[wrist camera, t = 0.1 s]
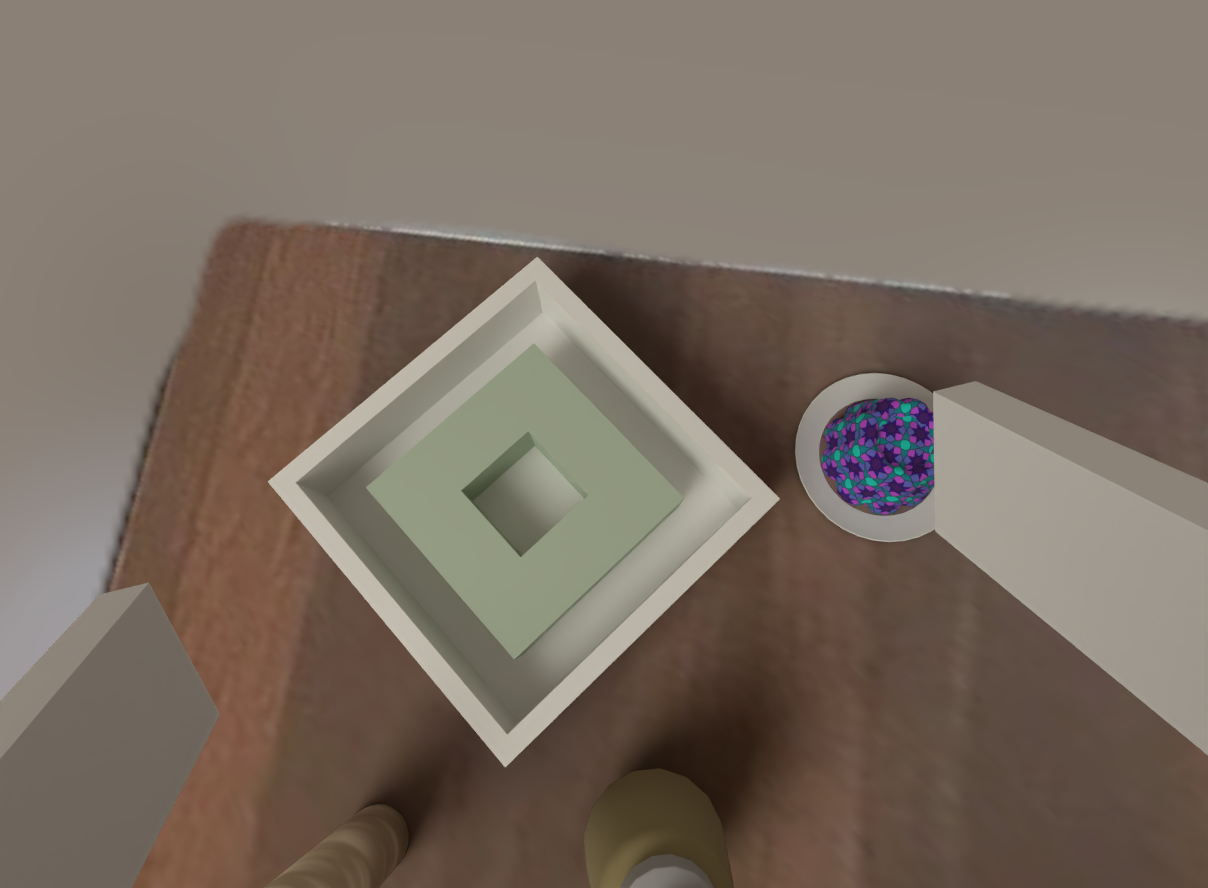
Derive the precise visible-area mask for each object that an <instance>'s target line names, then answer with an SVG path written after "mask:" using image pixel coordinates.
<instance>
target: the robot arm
mask: <svg viewBox="0 0 1208 888" xmlns="http://www.w3.org/2000/svg"><path fill="white" fill-rule="evenodd" d="M933 416H934V485H935V531H936V532H937V533H938V534H939V535H940V536H942V537H943V538H944V539H945V540H947V541H948V542H949V543H950V544H951V545H953V546H954V547H955V548H956V549H958V550H959V551H960V552H961V553H962V554H964V555H965V556H966V557H967V558H968V559H970V560H971V561H972V562H973V563H975V564H976V565H977V566H978V567H979V568H981V569H982V570H983V571H984V572H986V573H987V574H988V575H989V576H990V577H992V578H993V579H994V580H995V581H996V582H998V583H999V584H1000V585H1001V586H1003V587H1004V588H1005V589H1006V590H1007V591H1009V592H1010V593H1011V594H1012V595H1013V596H1015V597H1016V598H1017V599H1018V600H1020V601H1021V602H1022V603H1023V604H1024V605H1026V606H1027V607H1028V608H1029V609H1031V610H1032V611H1033V612H1034V613H1035V614H1037V615H1038V616H1039V617H1040V618H1041V619H1043V620H1044V621H1045V622H1046V623H1048V624H1049V625H1050V626H1051V627H1052V628H1054V629H1055V630H1056V631H1057V632H1059V633H1060V634H1061V635H1062V636H1063V637H1065V638H1066V639H1067V640H1068V641H1069V642H1071V643H1072V644H1073V645H1074V646H1076V647H1077V648H1078V649H1079V650H1080V651H1082V652H1083V653H1084V654H1085V655H1087V656H1088V657H1089V658H1090V659H1091V660H1093V661H1094V662H1095V663H1096V664H1097V665H1099V666H1100V667H1101V668H1102V669H1104V670H1105V671H1106V672H1107V673H1108V674H1110V675H1111V676H1112V677H1113V678H1114V679H1116V680H1117V681H1118V682H1119V683H1121V684H1122V685H1123V686H1124V687H1125V688H1127V689H1128V690H1129V691H1130V692H1132V693H1133V694H1134V695H1135V696H1136V697H1138V698H1139V699H1140V700H1141V701H1142V702H1144V703H1145V704H1146V705H1147V706H1149V707H1150V708H1151V709H1152V710H1153V711H1155V712H1156V713H1157V714H1158V715H1160V716H1161V717H1162V718H1163V719H1164V720H1166V721H1167V722H1168V723H1169V724H1170V725H1172V726H1173V727H1174V728H1175V729H1177V730H1178V731H1179V732H1180V733H1181V734H1183V735H1184V736H1185V737H1186V738H1188V739H1189V740H1190V741H1191V742H1192V743H1194V744H1195V745H1196V746H1197V747H1198V748H1200V749H1201V750H1202V751H1203V752H1205V753H1206V754H1207V755H1208V483H1207V482H1204V481H1202V480H1200V479H1198V478H1195V477H1193V476H1191V475H1188V474H1186V473H1184V472H1182V471H1179V470H1177V469H1175V468H1172V467H1170V466H1168V465H1166V464H1163V463H1161V462H1159V461H1157V460H1154V459H1152V458H1150V457H1147V456H1145V455H1143V454H1141V453H1138V452H1136V451H1134V450H1131V449H1129V448H1127V447H1125V446H1122V445H1120V444H1118V443H1116V442H1113V441H1111V440H1109V439H1106V438H1104V437H1102V436H1100V435H1097V434H1095V433H1093V432H1090V431H1088V430H1086V429H1084V428H1081V427H1079V426H1077V425H1075V424H1072V423H1070V422H1068V421H1065V420H1063V419H1061V418H1059V417H1056V416H1054V415H1052V414H1050V413H1047V412H1045V411H1043V410H1040V409H1038V408H1036V407H1034V406H1031V405H1029V404H1027V403H1024V402H1022V401H1020V400H1018V399H1015V398H1013V397H1011V396H1009V395H1006V394H1004V393H1002V392H999V391H997V390H995V389H993V388H990V387H988V386H986V385H983V384H981V383H979V382H977V381H974V382H970V383H966V384H962V385H958V386H954V387H950V388H946V389H941V390H937V391H933ZM219 715H220V713H219V712H218V710H217V708H216V706H215V704H214V702H213V700H212V699H211V697H210V695H209V693H208V691H207V689H206V687H205V686H204V684H203V682H202V680H201V678H200V676H199V674H198V673H197V671H196V669H195V667H194V665H193V663H192V662H191V660H190V658H189V656H188V654H187V652H186V650H185V649H184V647H183V645H182V643H181V641H180V639H179V637H178V636H177V634H176V632H175V630H174V628H173V626H172V624H171V623H170V621H169V619H168V617H167V615H166V613H165V612H164V610H163V608H162V606H161V604H160V602H159V600H158V599H157V597H156V595H155V593H154V591H153V589H152V587H151V586H150V584H149V583H146V584H141V585H137V586H133V587H129V588H125V589H121V590H117V591H113V592H109V593H105V594H100V595H99V596H98V597H97V598H96V599H95V600H94V601H93V602H92V604H91V605H90V606H89V607H88V608H87V609H86V610H85V611H84V612H83V613H82V615H81V616H79V617H78V618H77V620H76V621H75V622H74V623H73V624H72V625H71V626H70V627H69V628H68V629H67V630H66V631H65V632H64V634H63V635H62V636H61V637H60V638H59V639H58V640H57V641H56V642H55V643H54V644H53V645H52V646H51V647H50V648H49V649H48V651H47V652H46V653H45V654H44V655H43V656H42V657H41V658H40V659H39V660H38V661H37V662H36V663H35V664H34V666H33V667H32V668H31V669H30V670H29V671H28V672H27V673H26V674H25V675H24V676H23V677H22V678H21V679H20V681H19V682H18V683H17V684H16V685H15V686H14V687H13V688H12V689H11V690H10V691H9V692H8V693H7V694H6V696H5V697H4V698H3V699H2V700H1V701H0V888H132V886H133V884H134V882H135V880H136V878H137V876H138V874H139V872H140V870H141V869H142V867H143V865H144V863H145V861H146V859H147V857H148V855H149V853H150V851H151V849H152V847H153V845H154V843H155V841H156V839H157V837H158V835H159V833H160V831H161V829H162V827H163V825H164V823H165V821H166V819H167V817H168V815H169V813H170V812H171V810H172V808H173V806H174V804H175V802H176V800H177V798H178V796H179V794H180V792H181V790H182V788H183V786H184V784H185V782H186V780H187V778H188V776H189V774H190V772H191V770H192V768H193V766H194V764H195V762H196V760H197V758H198V756H199V755H200V753H201V751H202V749H203V747H204V745H205V743H206V741H207V739H208V737H209V735H210V733H211V731H212V729H213V727H214V725H215V723H216V721H217V719H218V717H219Z"/></svg>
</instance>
